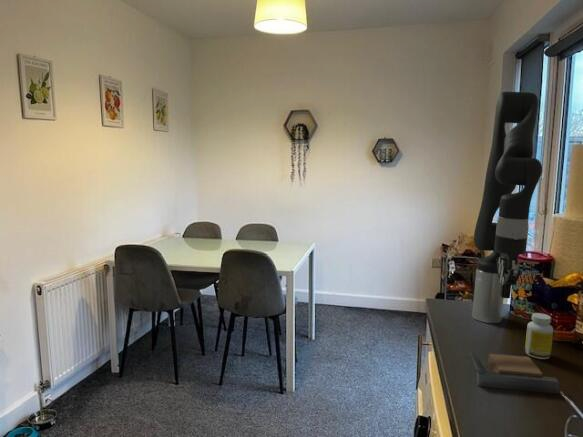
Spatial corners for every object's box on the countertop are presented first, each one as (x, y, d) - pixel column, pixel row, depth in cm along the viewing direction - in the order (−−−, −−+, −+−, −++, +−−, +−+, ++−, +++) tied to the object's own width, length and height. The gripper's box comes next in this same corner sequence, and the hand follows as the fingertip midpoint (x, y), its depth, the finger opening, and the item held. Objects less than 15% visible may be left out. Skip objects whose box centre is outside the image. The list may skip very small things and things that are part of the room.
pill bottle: (553, 361, 121) (558, 321, 120) (528, 358, 123) (533, 319, 121) (545, 351, 128) (550, 312, 126) (521, 348, 129) (525, 310, 127)
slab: (487, 367, 118) (489, 353, 117) (527, 371, 116) (529, 357, 116) (497, 385, 109) (499, 370, 109) (540, 389, 108) (542, 374, 107)
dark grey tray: (463, 355, 124) (464, 345, 123) (532, 362, 121) (533, 351, 120) (478, 385, 108) (479, 374, 107) (557, 393, 105) (558, 382, 105)
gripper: (489, 228, 122) (483, 288, 125) (504, 238, 110) (497, 305, 112) (518, 230, 121) (511, 290, 124) (536, 240, 108) (528, 307, 111)
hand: (504, 297), depth 118 cm, fingers closed
